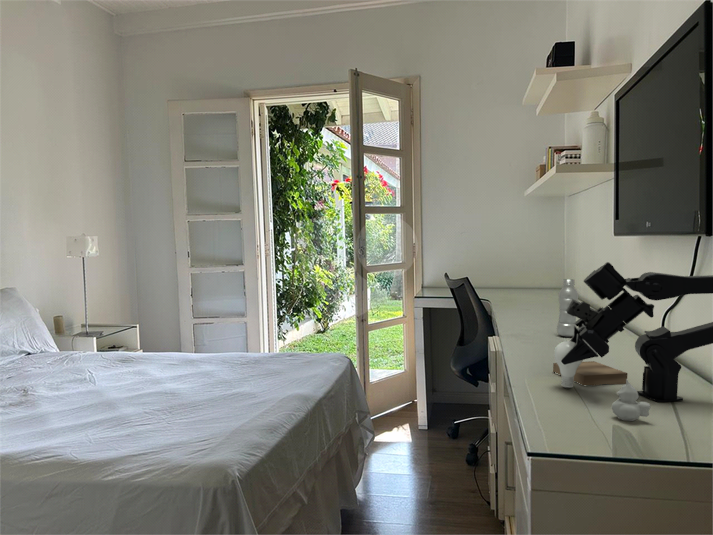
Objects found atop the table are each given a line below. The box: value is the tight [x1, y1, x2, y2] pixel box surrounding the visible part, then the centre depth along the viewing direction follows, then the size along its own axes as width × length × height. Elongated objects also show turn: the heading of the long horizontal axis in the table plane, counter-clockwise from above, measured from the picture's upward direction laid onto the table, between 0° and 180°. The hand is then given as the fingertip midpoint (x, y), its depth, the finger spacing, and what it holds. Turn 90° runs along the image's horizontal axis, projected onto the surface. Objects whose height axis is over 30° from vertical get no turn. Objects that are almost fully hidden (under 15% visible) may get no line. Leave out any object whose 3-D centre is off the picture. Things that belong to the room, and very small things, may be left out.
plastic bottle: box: [556, 278, 579, 338], centre depth 185 cm, size 6×7×20 cm
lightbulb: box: [553, 340, 584, 389], centre depth 122 cm, size 6×6×11 cm
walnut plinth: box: [552, 360, 628, 386], centre depth 132 cm, size 12×12×2 cm
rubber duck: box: [611, 378, 651, 422], centre depth 102 cm, size 5×7×8 cm
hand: (561, 359), depth 123 cm, fingers open, 7 cm apart
